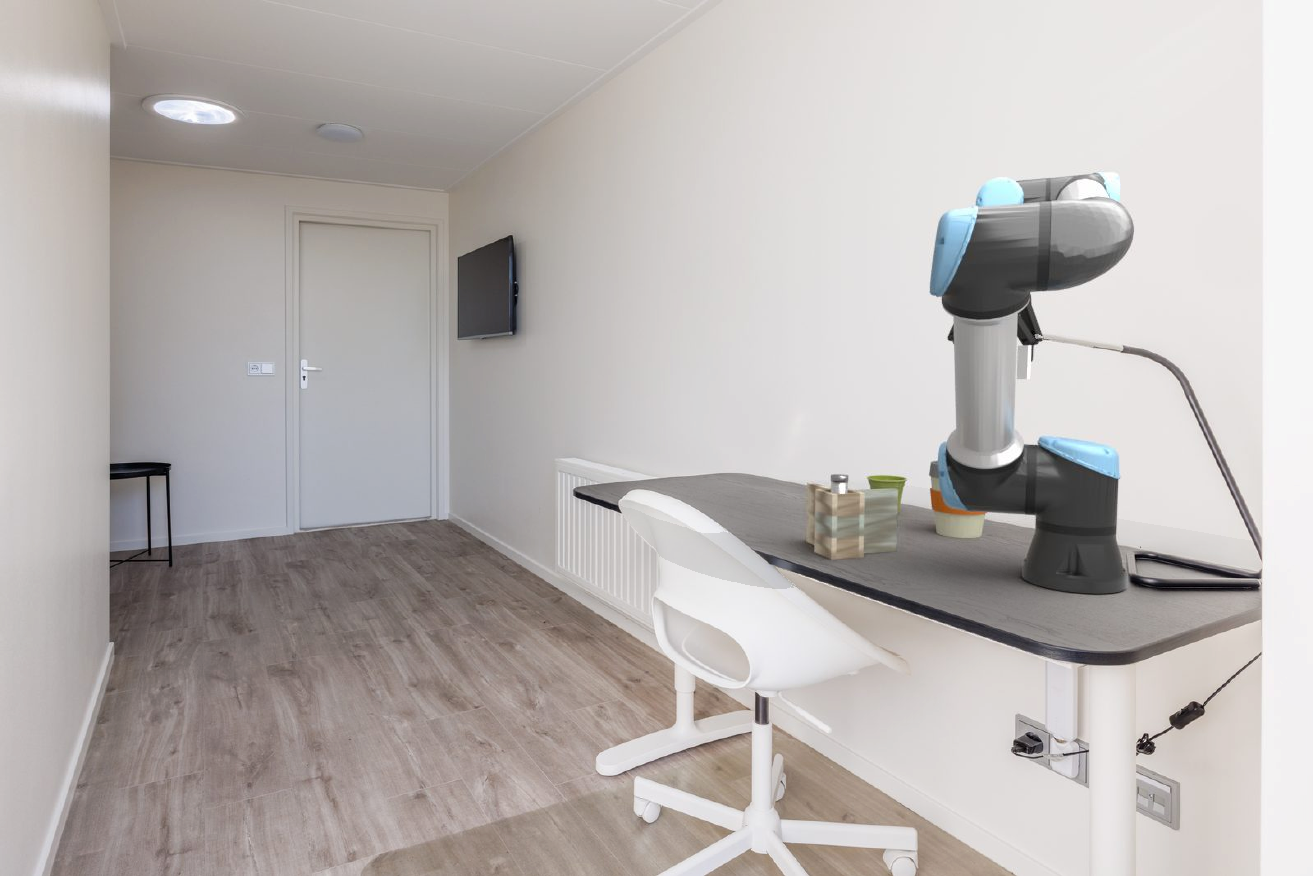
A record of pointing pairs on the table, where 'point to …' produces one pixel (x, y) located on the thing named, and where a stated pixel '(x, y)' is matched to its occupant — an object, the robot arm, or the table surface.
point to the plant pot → (888, 484)
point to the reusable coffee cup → (952, 513)
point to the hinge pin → (839, 483)
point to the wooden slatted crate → (851, 521)
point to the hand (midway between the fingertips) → (994, 379)
